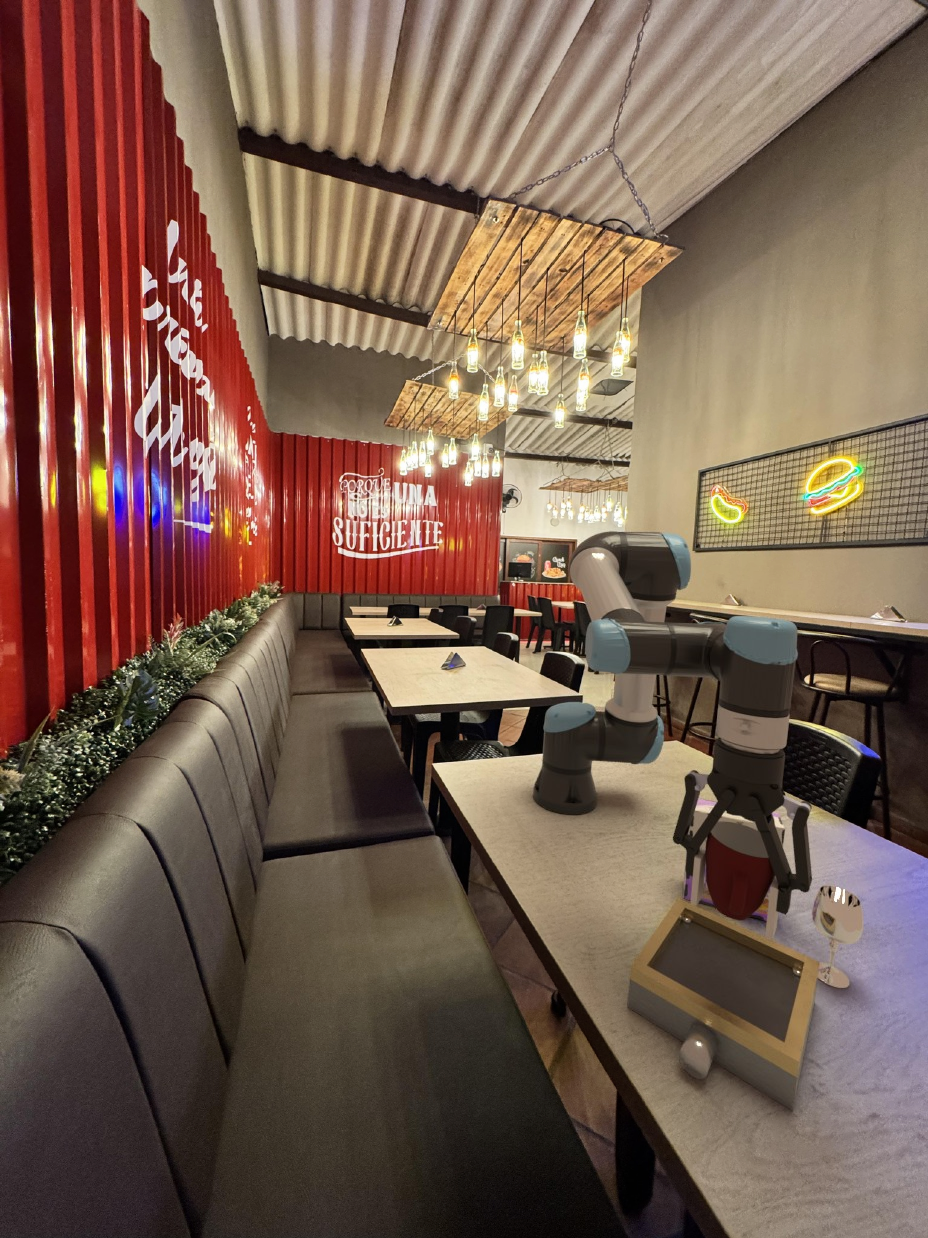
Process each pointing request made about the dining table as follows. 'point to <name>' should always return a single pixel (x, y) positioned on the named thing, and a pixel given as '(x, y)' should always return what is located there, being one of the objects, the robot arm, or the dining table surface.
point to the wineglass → (836, 927)
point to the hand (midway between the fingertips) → (732, 915)
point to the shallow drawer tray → (727, 998)
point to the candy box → (698, 818)
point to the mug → (737, 869)
